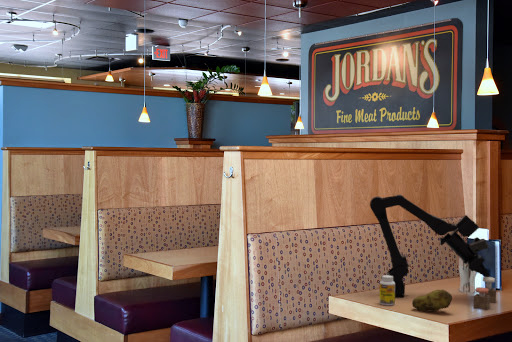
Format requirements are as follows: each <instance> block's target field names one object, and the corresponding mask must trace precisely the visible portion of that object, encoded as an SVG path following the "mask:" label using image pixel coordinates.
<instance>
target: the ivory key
mask: <svg viewBox="0 0 512 342" xmlns="http://www.w3.org/2000/svg"><path fill="white" fill-rule="evenodd" d="M495 280H496V278H495V277H491V276H489V277H486V276H483V277H482V281H483V282H484V283H485V288H487V289H488V290H491V288H492V287H493V286H492V284H493V283H496V281H495Z"/></svg>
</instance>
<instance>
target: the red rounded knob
mask: <svg viewBox="0 0 512 342" xmlns="http://www.w3.org/2000/svg"><path fill="white" fill-rule="evenodd" d="M475 293H477V294H479V296H481V297H485V293H488V289H487V288H486V287H483V286H482V287H476V288H475Z"/></svg>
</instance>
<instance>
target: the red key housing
mask: <svg viewBox="0 0 512 342" xmlns="http://www.w3.org/2000/svg"><path fill="white" fill-rule="evenodd" d="M490 308H491V302H490V295H485V297H481V296H479V293H475V295H473V309H476V310H483V311H488V310H489V309H490Z"/></svg>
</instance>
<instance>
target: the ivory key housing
mask: <svg viewBox="0 0 512 342" xmlns="http://www.w3.org/2000/svg"><path fill="white" fill-rule="evenodd" d="M485 295H490V303H493V304H494V303H496V302H497V290H496V289H495V288H493V287H491V290H488V293H485Z"/></svg>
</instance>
